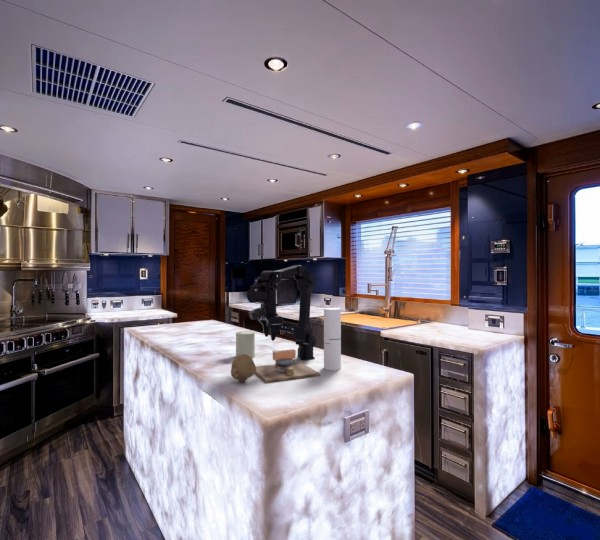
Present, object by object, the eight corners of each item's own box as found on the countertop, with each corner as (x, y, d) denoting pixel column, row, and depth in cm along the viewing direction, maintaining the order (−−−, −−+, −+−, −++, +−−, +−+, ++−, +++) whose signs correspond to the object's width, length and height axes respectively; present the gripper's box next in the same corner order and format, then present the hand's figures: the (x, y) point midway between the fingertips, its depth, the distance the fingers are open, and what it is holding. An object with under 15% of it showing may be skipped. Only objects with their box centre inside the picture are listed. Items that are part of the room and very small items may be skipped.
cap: (291, 361, 148) (291, 347, 148) (297, 365, 142) (297, 350, 142) (270, 363, 145) (270, 349, 145) (276, 367, 138) (276, 353, 138)
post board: (299, 363, 157) (299, 356, 157) (319, 375, 139) (319, 367, 139) (250, 369, 148) (250, 361, 148) (266, 383, 130) (266, 374, 130)
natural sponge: (259, 379, 134) (259, 352, 134) (249, 386, 126) (249, 358, 126) (238, 377, 137) (238, 351, 137) (226, 384, 128) (226, 356, 128)
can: (233, 355, 173) (233, 330, 173) (251, 353, 177) (251, 329, 177) (238, 359, 164) (238, 333, 164) (257, 357, 168) (257, 332, 168)
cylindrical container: (340, 370, 146) (340, 309, 146) (322, 369, 147) (322, 309, 147) (341, 366, 153) (341, 307, 153) (325, 365, 154) (325, 307, 154)
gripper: (245, 300, 154) (245, 336, 154) (256, 303, 136) (256, 344, 136) (270, 299, 158) (270, 334, 158) (283, 302, 140) (284, 342, 140)
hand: (269, 338), depth 148 cm, fingers open, 9 cm apart
